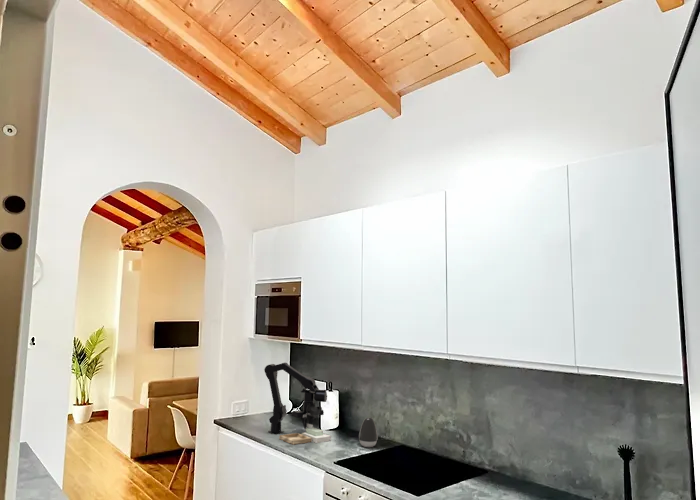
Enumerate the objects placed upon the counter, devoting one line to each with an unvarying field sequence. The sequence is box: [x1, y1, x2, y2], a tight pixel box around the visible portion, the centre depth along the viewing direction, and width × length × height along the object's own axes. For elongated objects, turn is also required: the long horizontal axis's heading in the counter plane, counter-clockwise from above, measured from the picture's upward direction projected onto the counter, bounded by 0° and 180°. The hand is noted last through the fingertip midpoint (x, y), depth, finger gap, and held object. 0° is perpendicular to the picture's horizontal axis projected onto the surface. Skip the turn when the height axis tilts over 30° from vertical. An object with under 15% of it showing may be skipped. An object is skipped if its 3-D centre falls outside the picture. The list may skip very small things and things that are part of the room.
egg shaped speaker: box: [358, 416, 379, 448], centre depth 279 cm, size 10×10×15 cm
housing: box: [301, 432, 332, 444], centre depth 289 cm, size 14×10×2 cm
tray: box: [278, 432, 313, 446], centre depth 284 cm, size 14×12×2 cm
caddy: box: [305, 422, 324, 436], centre depth 292 cm, size 12×5×7 cm, turn 39°
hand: (307, 428), depth 296 cm, fingers open, 3 cm apart
